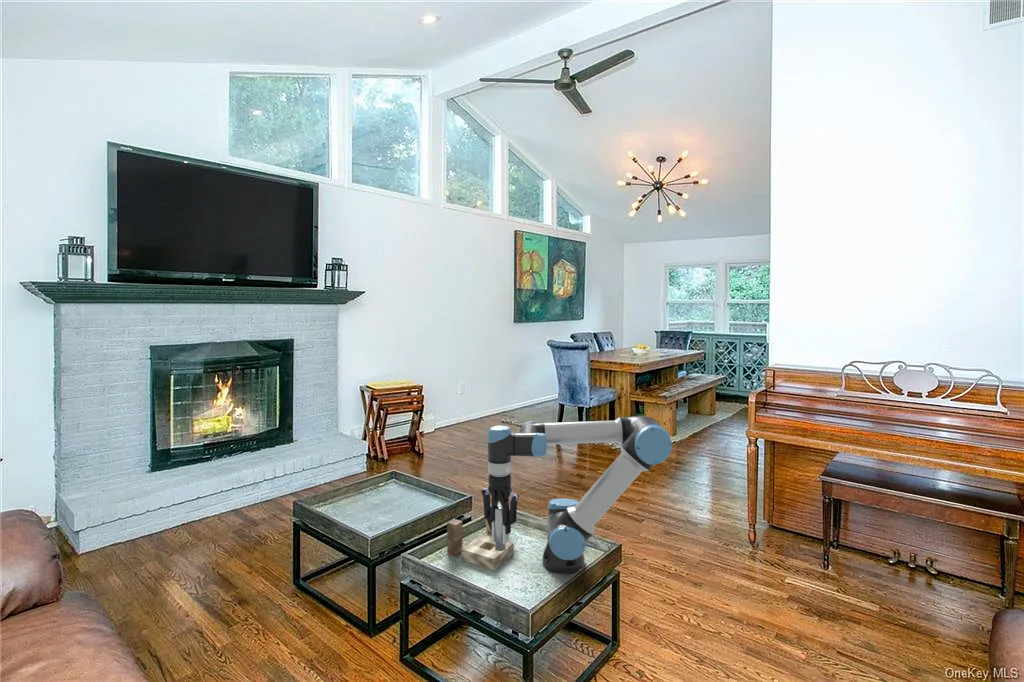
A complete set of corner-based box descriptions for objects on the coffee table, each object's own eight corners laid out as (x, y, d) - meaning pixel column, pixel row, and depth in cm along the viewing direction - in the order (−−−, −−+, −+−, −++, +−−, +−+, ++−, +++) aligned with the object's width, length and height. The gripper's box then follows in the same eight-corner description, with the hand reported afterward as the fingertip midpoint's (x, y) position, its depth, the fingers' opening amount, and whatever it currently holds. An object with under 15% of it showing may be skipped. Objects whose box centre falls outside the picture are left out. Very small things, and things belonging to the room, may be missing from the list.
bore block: (513, 553, 196) (513, 542, 196) (493, 570, 184) (494, 559, 184) (482, 544, 203) (482, 534, 203) (461, 559, 191) (461, 549, 191)
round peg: (507, 547, 177) (507, 507, 176) (502, 552, 174) (502, 511, 173) (498, 545, 179) (498, 505, 178) (493, 549, 176) (492, 508, 175)
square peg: (462, 552, 197) (462, 521, 196) (456, 556, 193) (456, 525, 192) (453, 549, 199) (453, 518, 198) (447, 553, 195) (447, 522, 194)
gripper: (527, 473, 173) (527, 542, 175) (484, 466, 181) (485, 531, 184) (516, 480, 167) (516, 551, 169) (472, 472, 175) (473, 540, 177)
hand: (500, 540), depth 176 cm, fingers closed on round peg, 3 cm apart
